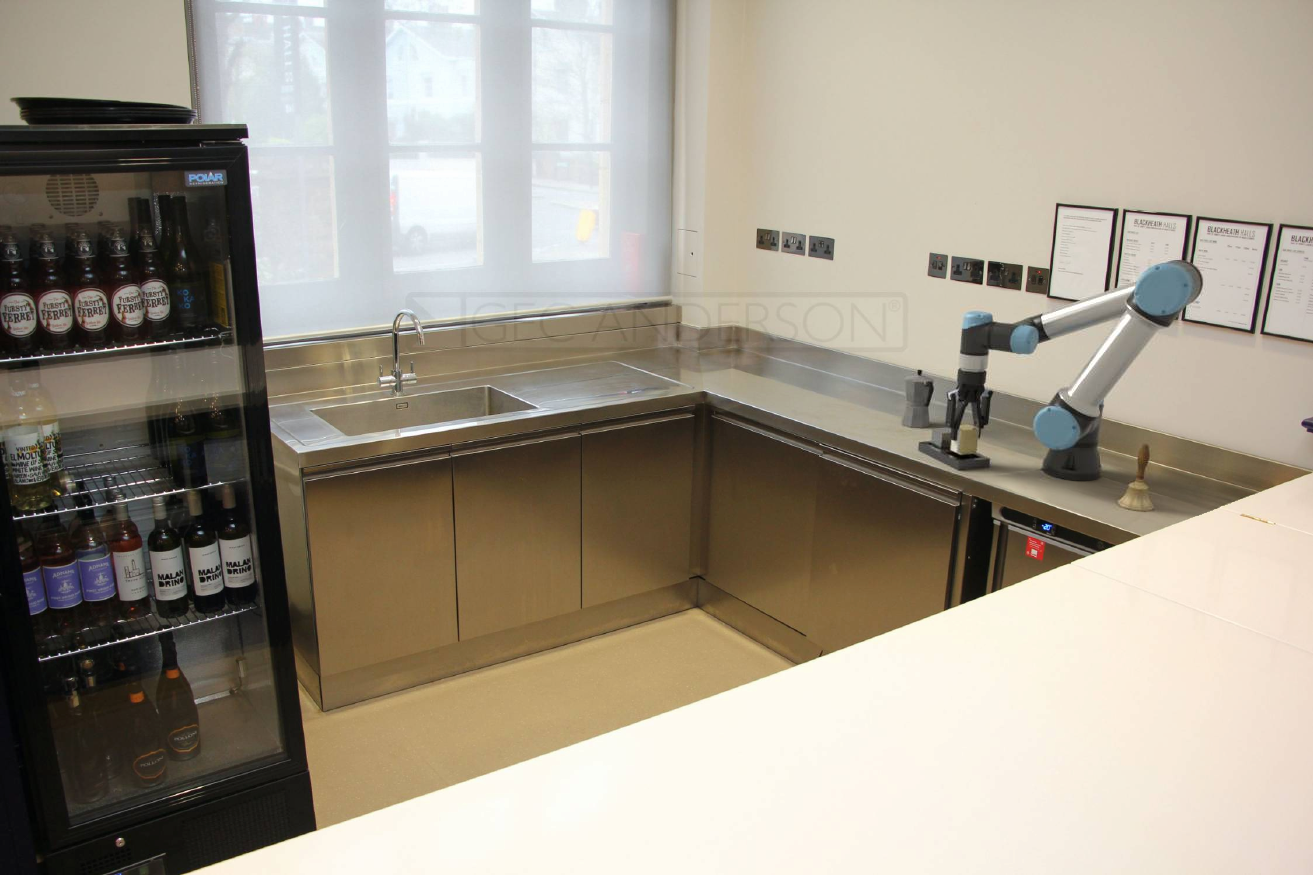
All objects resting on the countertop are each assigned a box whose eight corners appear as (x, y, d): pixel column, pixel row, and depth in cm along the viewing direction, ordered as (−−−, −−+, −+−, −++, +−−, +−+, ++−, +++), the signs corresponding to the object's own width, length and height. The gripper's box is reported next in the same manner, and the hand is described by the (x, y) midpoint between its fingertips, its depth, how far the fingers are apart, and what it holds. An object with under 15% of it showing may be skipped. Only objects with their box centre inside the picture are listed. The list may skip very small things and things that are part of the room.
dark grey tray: (989, 469, 280) (990, 458, 279) (957, 472, 277) (959, 461, 276) (947, 449, 298) (948, 439, 298) (917, 451, 295) (918, 442, 295)
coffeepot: (892, 420, 330) (896, 366, 325) (918, 418, 332) (923, 364, 327) (915, 432, 316) (919, 376, 311) (942, 430, 318) (947, 374, 313)
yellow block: (976, 453, 281) (978, 429, 279) (960, 454, 279) (963, 430, 277) (965, 448, 286) (968, 424, 284) (950, 449, 284) (952, 425, 282)
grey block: (955, 455, 291) (957, 431, 289) (940, 456, 289) (942, 433, 287) (945, 450, 295) (947, 427, 293) (930, 451, 294) (932, 428, 292)
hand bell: (1151, 502, 255) (1160, 441, 251) (1155, 513, 247) (1165, 450, 243) (1115, 498, 258) (1124, 438, 253) (1118, 509, 250) (1127, 447, 246)
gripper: (992, 364, 282) (983, 444, 288) (936, 367, 276) (928, 449, 283) (1009, 370, 275) (999, 451, 281) (951, 373, 269) (943, 457, 276)
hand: (963, 450), depth 282 cm, fingers closed on yellow block, 5 cm apart
